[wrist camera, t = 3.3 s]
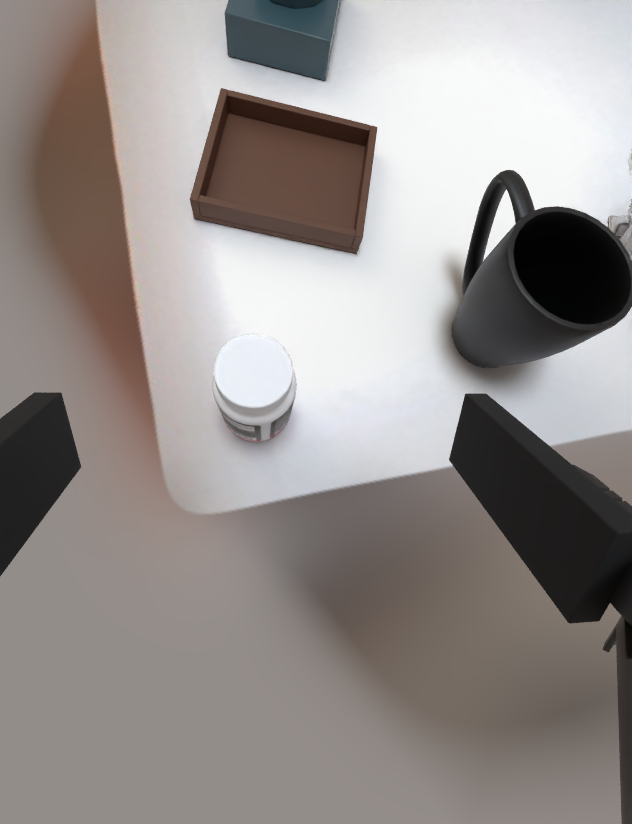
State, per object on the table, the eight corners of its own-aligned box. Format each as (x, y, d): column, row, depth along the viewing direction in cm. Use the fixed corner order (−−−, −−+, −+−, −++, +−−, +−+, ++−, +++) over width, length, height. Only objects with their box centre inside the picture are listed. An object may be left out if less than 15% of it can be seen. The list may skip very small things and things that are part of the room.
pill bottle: (279, 370, 28) (285, 316, 20) (298, 431, 28) (313, 399, 19) (214, 387, 27) (195, 336, 19) (232, 450, 27) (219, 425, 19)
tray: (194, 218, 31) (189, 199, 29) (223, 111, 33) (220, 87, 32) (356, 254, 32) (362, 237, 30) (371, 147, 35) (377, 126, 33)
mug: (489, 244, 34) (573, 146, 25) (546, 370, 31) (662, 313, 22) (404, 262, 32) (461, 163, 23) (458, 395, 30) (544, 345, 21)
